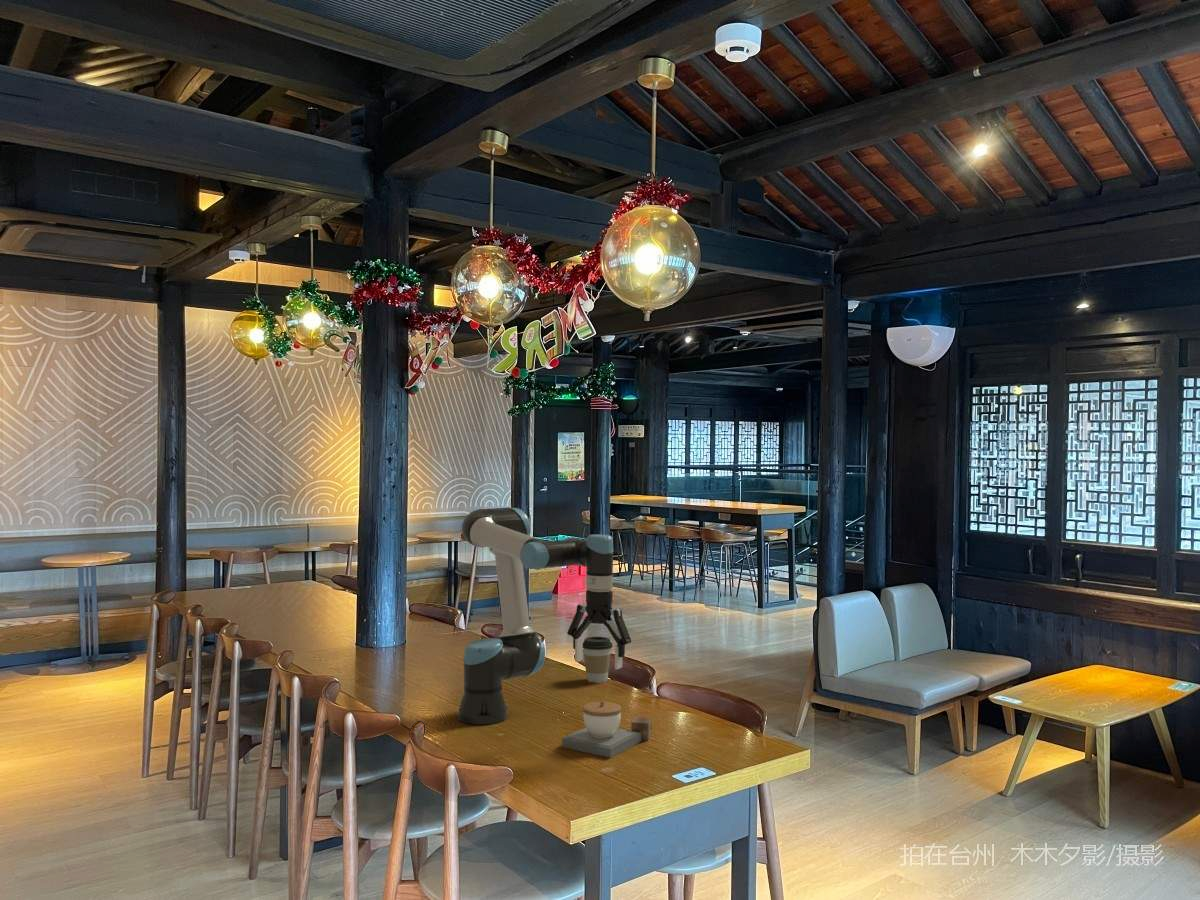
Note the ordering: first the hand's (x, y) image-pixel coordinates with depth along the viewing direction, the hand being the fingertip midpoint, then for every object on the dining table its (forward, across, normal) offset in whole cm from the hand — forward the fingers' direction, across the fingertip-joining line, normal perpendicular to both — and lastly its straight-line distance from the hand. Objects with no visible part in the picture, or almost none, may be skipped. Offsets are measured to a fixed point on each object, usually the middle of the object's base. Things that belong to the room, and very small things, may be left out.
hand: (598, 664), depth 238 cm
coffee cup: (+23, -37, +54) cm, 69 cm away
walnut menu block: (+22, +9, +10) cm, 25 cm away
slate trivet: (+21, +3, -2) cm, 22 cm away
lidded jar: (+19, +3, -2) cm, 19 cm away
